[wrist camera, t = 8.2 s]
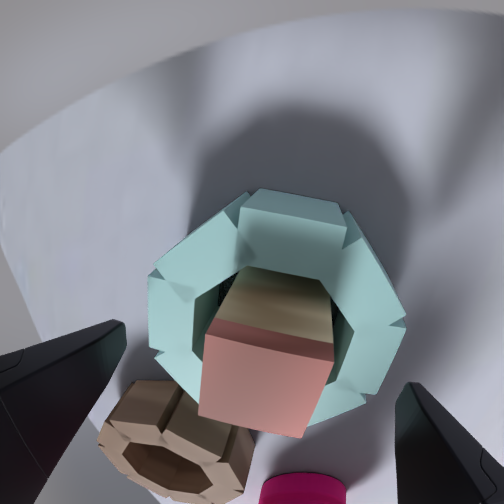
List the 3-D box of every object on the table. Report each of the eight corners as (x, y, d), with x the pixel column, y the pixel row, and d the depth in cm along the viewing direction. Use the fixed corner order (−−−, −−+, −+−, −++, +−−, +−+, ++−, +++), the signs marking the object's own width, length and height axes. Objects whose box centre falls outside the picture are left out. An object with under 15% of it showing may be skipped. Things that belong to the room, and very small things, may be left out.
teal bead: (405, 218, 12) (436, 247, 8) (347, 385, 15) (351, 439, 11) (191, 177, 13) (150, 191, 9) (179, 350, 16) (152, 396, 12)
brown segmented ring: (228, 379, 16) (209, 428, 13) (265, 467, 18) (256, 509, 15) (102, 378, 18) (74, 413, 15) (156, 460, 20) (140, 493, 17)
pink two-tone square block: (327, 268, 13) (334, 362, 7) (309, 332, 14) (301, 438, 9) (250, 251, 13) (205, 333, 8) (238, 317, 14) (198, 415, 9)
